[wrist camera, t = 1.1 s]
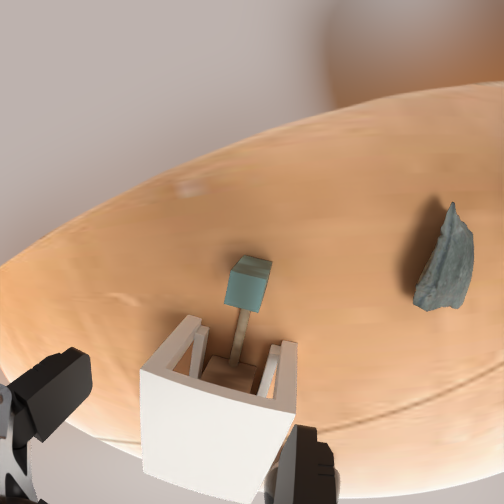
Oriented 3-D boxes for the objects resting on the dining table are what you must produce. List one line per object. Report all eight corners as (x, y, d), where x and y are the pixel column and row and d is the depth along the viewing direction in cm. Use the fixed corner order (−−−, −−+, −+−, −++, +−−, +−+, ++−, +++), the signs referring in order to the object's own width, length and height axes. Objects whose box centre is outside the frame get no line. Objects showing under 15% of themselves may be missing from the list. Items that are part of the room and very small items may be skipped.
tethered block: (283, 264, 28) (280, 283, 22) (247, 398, 32) (238, 432, 26) (232, 252, 28) (216, 267, 23) (206, 387, 32) (191, 419, 26)
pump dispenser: (263, 477, 35) (248, 555, 20) (272, 438, 33) (258, 533, 18) (327, 482, 34) (328, 559, 19) (347, 443, 32) (356, 534, 17)
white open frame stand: (297, 343, 29) (295, 414, 19) (262, 439, 33) (249, 504, 22) (188, 314, 31) (140, 368, 20) (175, 414, 34) (143, 472, 23)
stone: (478, 214, 25) (422, 190, 23) (503, 224, 21) (450, 199, 19) (449, 300, 28) (389, 295, 26) (470, 316, 25) (411, 315, 23)
